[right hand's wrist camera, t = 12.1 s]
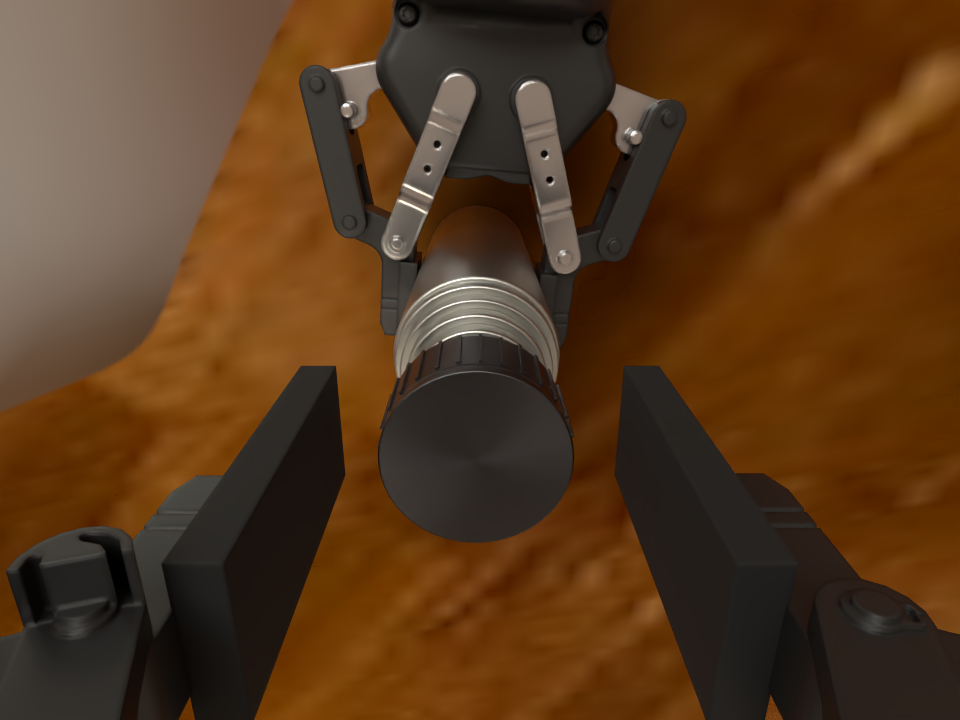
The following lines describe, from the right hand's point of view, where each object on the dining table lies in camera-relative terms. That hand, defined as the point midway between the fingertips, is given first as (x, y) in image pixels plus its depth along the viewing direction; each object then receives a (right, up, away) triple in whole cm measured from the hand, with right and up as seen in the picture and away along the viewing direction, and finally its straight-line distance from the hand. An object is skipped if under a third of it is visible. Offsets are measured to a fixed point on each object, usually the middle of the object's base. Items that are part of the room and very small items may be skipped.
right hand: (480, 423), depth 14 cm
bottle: (0, +7, +18) cm, 19 cm away
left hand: (0, +2, +12) cm, 13 cm away
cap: (0, -1, -1) cm, 1 cm away
